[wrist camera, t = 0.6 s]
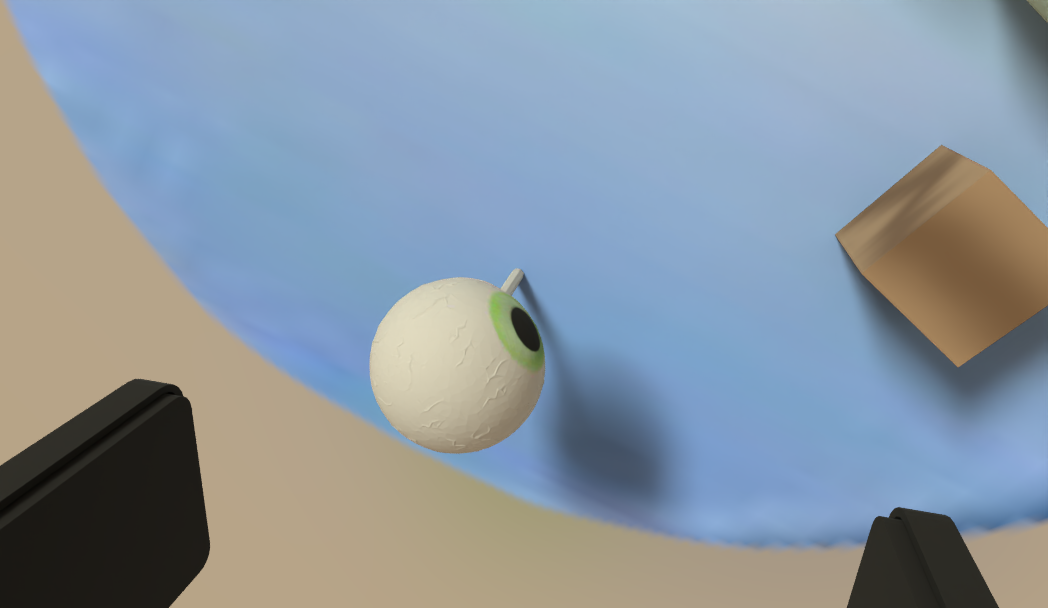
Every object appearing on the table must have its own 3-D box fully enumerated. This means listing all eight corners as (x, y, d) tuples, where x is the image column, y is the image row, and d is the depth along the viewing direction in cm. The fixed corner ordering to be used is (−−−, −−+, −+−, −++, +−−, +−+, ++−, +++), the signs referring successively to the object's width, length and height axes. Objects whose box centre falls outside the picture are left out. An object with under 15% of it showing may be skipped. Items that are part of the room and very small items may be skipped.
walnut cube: (940, 144, 33) (990, 169, 28) (1027, 232, 34) (1092, 274, 28) (834, 234, 36) (861, 273, 30) (917, 314, 36) (957, 367, 31)
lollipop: (606, 295, 39) (564, 443, 26) (504, 353, 42) (415, 517, 28) (532, 186, 38) (446, 281, 24) (431, 254, 40) (301, 374, 27)
